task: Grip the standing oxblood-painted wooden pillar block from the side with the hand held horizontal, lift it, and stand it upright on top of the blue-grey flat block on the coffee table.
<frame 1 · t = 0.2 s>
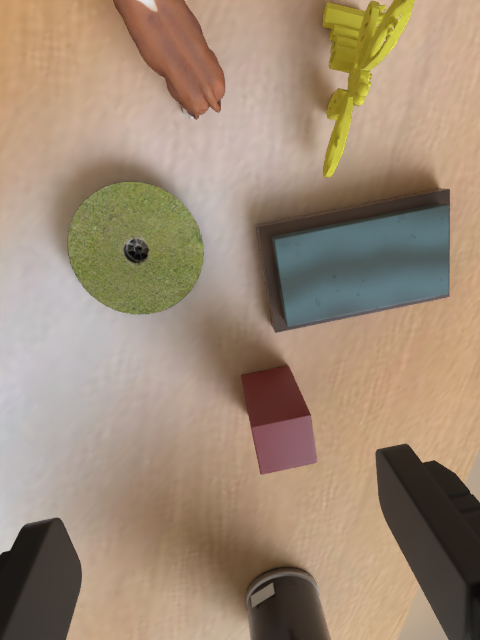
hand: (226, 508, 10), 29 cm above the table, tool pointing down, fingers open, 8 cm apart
pillar block: (268, 390, 42), on the table
blue-grey flat block: (352, 260, 38), on the table
bull figurine: (165, 39, 31), on the table
mat: (140, 247, 36), on the table
decorative insect: (326, 97, 34), on the table
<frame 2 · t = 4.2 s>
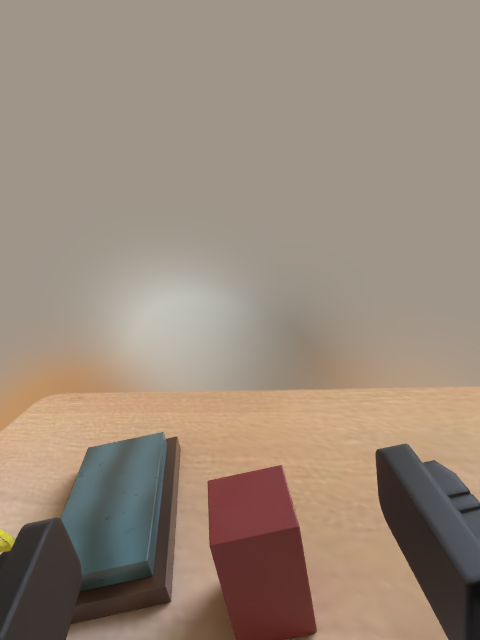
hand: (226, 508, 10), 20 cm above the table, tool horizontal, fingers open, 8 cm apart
pillar block: (271, 601, 28), on the table
blue-grey flat block: (122, 520, 37), on the table
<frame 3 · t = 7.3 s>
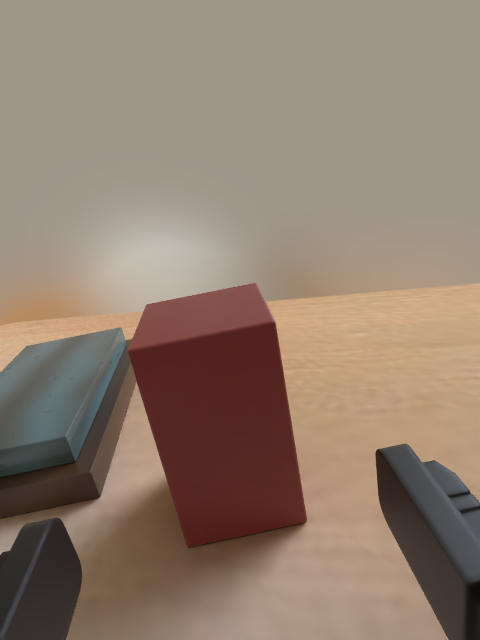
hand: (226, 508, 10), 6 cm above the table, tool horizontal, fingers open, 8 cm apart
pillar block: (241, 490, 19), on the table
blue-grey flat block: (57, 419, 28), on the table
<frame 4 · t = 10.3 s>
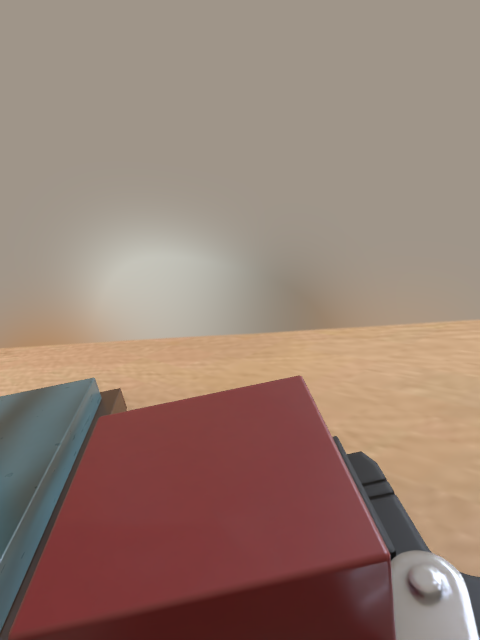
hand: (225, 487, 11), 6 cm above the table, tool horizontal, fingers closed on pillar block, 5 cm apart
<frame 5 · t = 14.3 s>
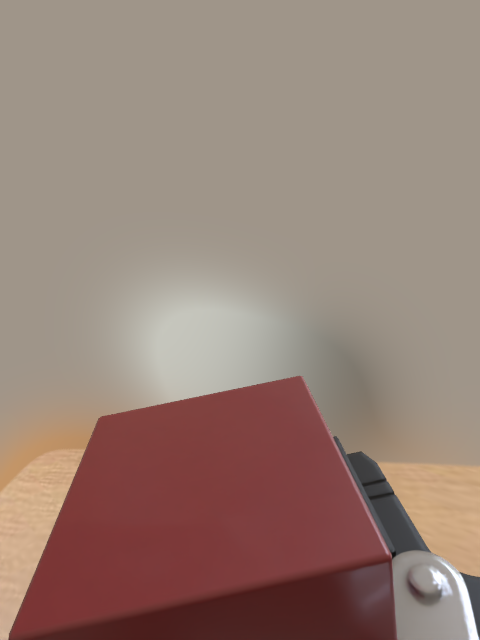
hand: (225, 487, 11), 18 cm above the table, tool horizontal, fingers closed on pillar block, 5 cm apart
when the fingers open (9 cm above the table, at t = 18.4 s): pillar block stays where it is, resting on blue-grey flat block.
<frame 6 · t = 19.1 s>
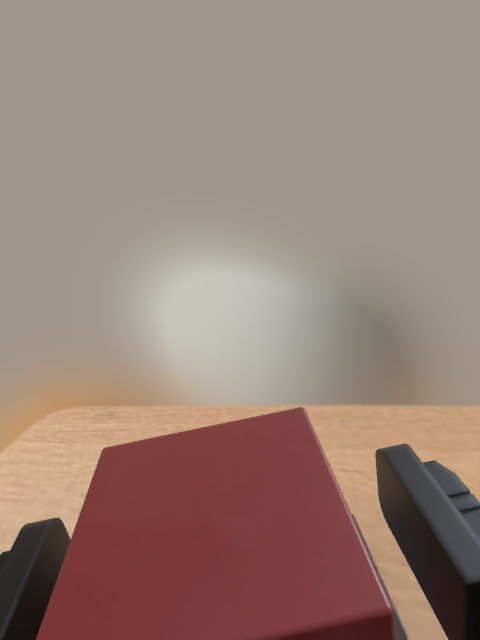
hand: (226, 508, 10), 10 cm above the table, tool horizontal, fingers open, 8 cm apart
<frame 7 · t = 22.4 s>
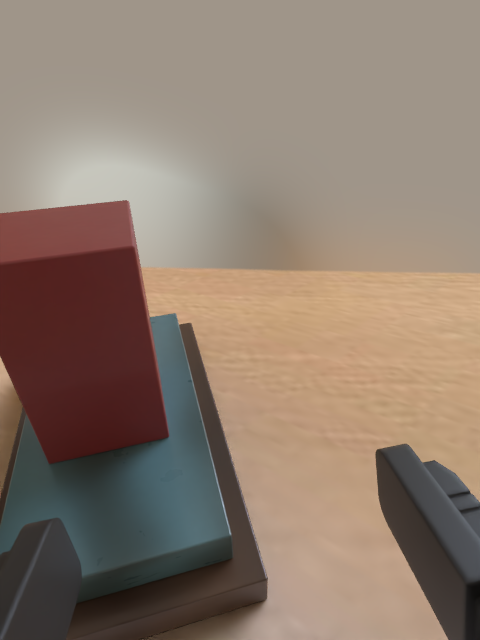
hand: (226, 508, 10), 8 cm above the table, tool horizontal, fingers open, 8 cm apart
pillar block: (110, 409, 19), point 3 cm above the table, touching blue-grey flat block
blue-grey flat block: (125, 451, 21), on the table
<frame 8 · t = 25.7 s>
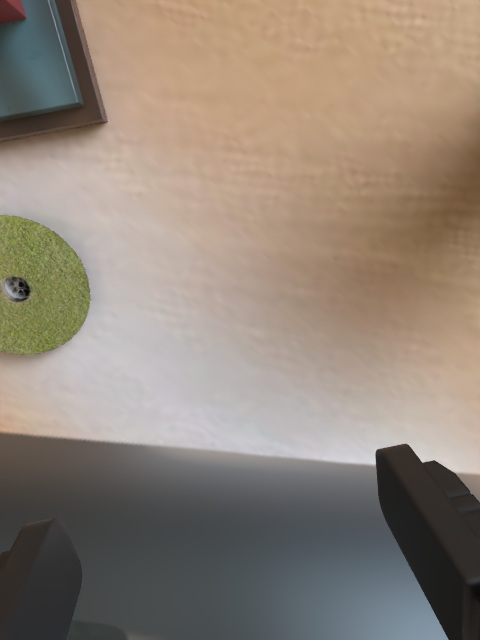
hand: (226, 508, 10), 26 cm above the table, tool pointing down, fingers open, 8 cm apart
mat: (26, 282, 34), on the table
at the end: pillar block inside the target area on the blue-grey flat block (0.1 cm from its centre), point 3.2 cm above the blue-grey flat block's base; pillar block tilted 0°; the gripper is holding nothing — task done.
